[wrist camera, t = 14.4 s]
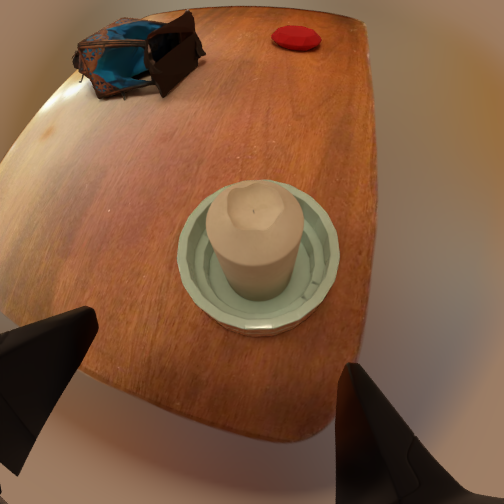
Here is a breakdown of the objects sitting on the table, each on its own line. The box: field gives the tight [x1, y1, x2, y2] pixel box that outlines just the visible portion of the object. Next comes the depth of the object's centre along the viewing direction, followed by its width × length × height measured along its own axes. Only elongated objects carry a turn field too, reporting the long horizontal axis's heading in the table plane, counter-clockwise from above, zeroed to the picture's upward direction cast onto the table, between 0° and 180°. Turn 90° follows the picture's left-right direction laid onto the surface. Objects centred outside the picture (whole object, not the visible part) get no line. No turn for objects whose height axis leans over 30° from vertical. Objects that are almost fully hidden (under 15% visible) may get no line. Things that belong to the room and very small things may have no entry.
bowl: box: [177, 180, 340, 337], centre depth 22 cm, size 11×11×5 cm
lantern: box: [72, 10, 206, 100], centre depth 33 cm, size 16×16×25 cm
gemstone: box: [271, 26, 322, 51], centre depth 39 cm, size 9×9×3 cm
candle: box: [206, 180, 304, 301], centre depth 19 cm, size 6×6×10 cm
